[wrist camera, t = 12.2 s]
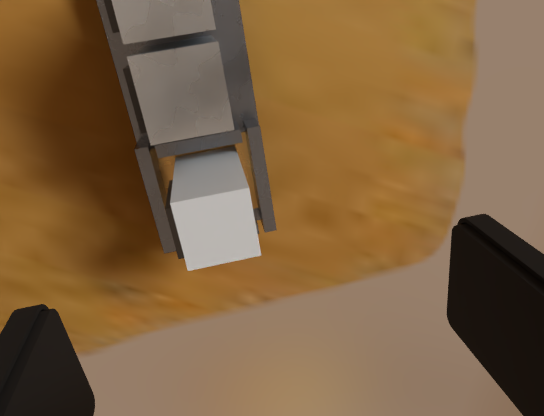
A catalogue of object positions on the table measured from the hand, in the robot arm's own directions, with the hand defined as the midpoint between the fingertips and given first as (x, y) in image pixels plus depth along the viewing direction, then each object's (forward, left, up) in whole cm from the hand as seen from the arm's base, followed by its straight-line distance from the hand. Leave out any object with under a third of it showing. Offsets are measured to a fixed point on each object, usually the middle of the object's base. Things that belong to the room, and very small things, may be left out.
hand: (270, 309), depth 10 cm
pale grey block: (+4, -1, -20) cm, 21 cm away
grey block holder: (-1, -1, -22) cm, 22 cm away
